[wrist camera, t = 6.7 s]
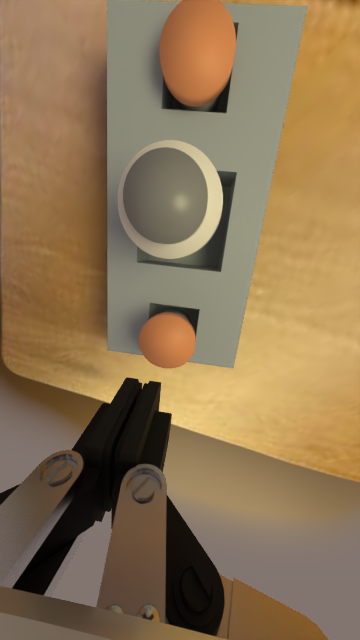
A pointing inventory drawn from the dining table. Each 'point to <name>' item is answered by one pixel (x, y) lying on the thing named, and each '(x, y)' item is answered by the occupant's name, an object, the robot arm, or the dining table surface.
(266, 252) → the dining table surface
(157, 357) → the orange knob plunger
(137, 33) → the housing
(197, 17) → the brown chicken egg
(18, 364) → the dining table surface
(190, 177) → the cartridge
